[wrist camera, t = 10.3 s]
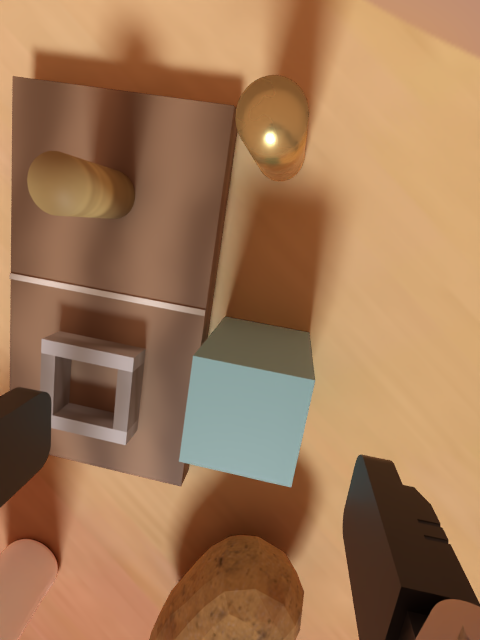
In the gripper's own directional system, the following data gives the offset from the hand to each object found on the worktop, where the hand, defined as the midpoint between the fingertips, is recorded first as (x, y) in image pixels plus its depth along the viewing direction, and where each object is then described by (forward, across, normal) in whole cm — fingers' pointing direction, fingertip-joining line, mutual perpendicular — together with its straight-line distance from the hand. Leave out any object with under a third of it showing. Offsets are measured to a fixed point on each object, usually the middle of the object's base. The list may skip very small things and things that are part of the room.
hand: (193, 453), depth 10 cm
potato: (+18, -1, +23) cm, 29 cm away
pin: (+18, 0, -10) cm, 20 cm away
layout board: (+18, +10, +1) cm, 21 cm away
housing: (+18, -1, +4) cm, 18 cm away
